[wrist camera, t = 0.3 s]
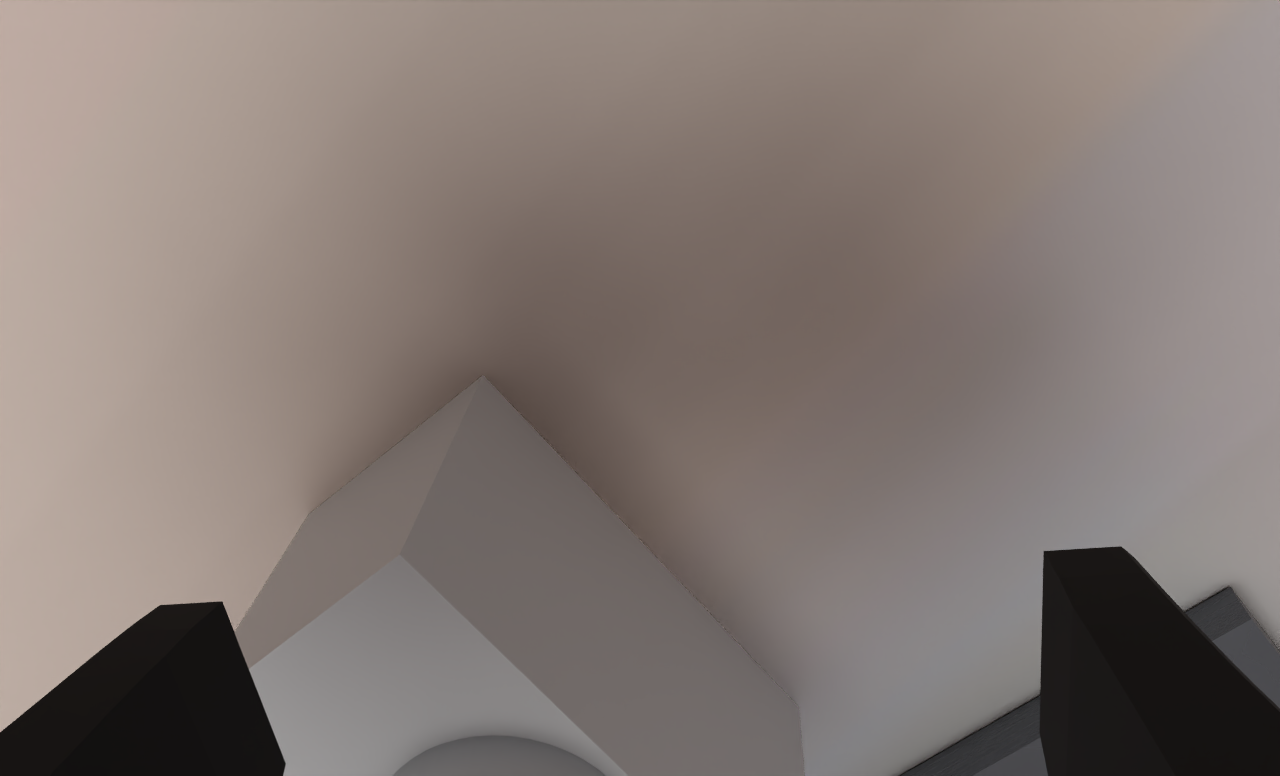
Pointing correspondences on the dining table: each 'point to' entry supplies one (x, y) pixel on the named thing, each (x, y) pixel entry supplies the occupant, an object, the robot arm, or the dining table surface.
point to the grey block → (497, 627)
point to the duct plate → (1011, 747)
